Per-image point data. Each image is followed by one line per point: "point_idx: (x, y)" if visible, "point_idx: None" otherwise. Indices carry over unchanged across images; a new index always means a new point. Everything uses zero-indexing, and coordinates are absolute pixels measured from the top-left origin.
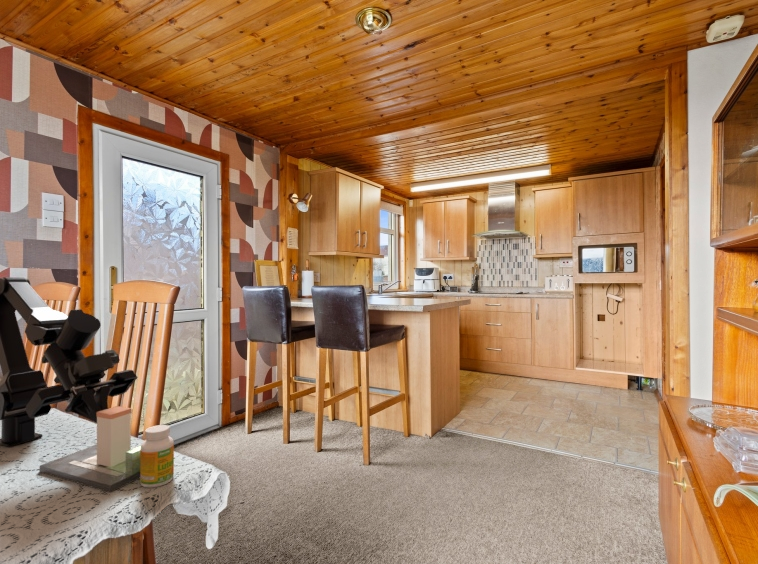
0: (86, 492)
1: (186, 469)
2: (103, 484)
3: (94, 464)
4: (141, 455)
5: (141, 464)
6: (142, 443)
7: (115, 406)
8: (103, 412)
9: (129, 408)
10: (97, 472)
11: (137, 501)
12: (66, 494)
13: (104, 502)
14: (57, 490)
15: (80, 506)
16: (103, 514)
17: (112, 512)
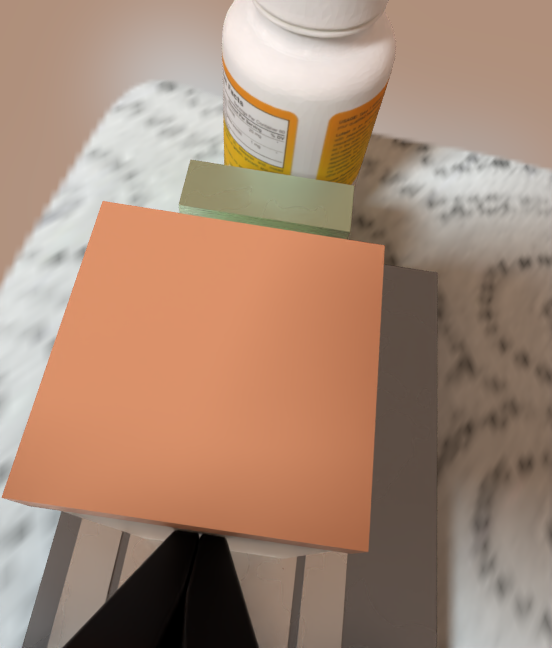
0: (465, 388)
1: (168, 141)
2: (435, 316)
3: (292, 566)
4: (380, 103)
5: (368, 140)
6: (371, 66)
7: (32, 503)
8: (346, 419)
9: (106, 220)
10: None
11: (431, 155)
12: (515, 465)
13: (484, 252)
14: (513, 555)
15: (543, 313)
16: (534, 198)
17: (513, 181)
